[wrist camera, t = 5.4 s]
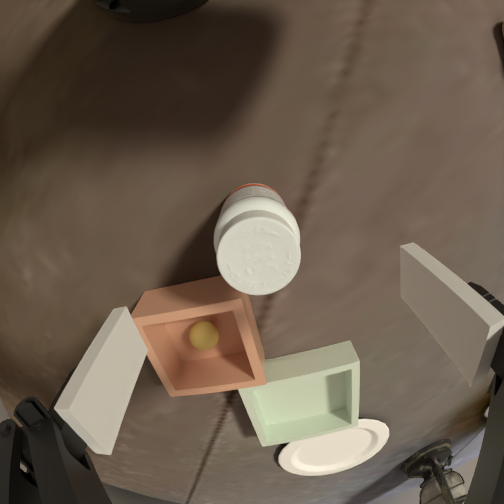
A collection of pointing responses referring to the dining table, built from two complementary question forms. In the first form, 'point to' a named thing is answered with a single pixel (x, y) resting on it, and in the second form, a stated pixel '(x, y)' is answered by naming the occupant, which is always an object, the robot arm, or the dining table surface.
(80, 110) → the dining table surface
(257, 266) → the pill bottle
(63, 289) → the dining table surface
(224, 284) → the orange open box
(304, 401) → the green tray
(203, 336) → the yellow ball
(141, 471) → the dining table surface
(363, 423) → the plate
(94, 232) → the dining table surface
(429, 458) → the lantern
